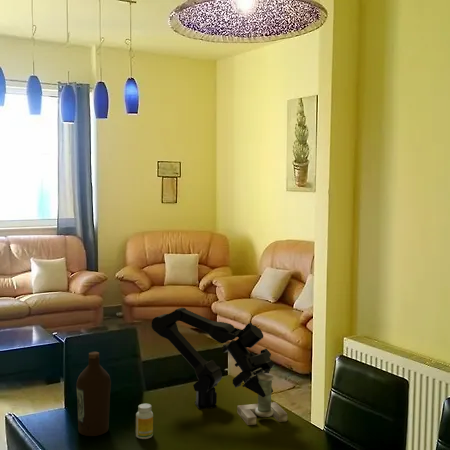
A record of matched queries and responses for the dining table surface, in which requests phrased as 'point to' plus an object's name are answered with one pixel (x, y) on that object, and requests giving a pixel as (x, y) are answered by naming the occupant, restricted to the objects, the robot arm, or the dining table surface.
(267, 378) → the bobbin
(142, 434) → the supplement bottle
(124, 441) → the dining table surface
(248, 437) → the dining table surface
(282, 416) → the notched board
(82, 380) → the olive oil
